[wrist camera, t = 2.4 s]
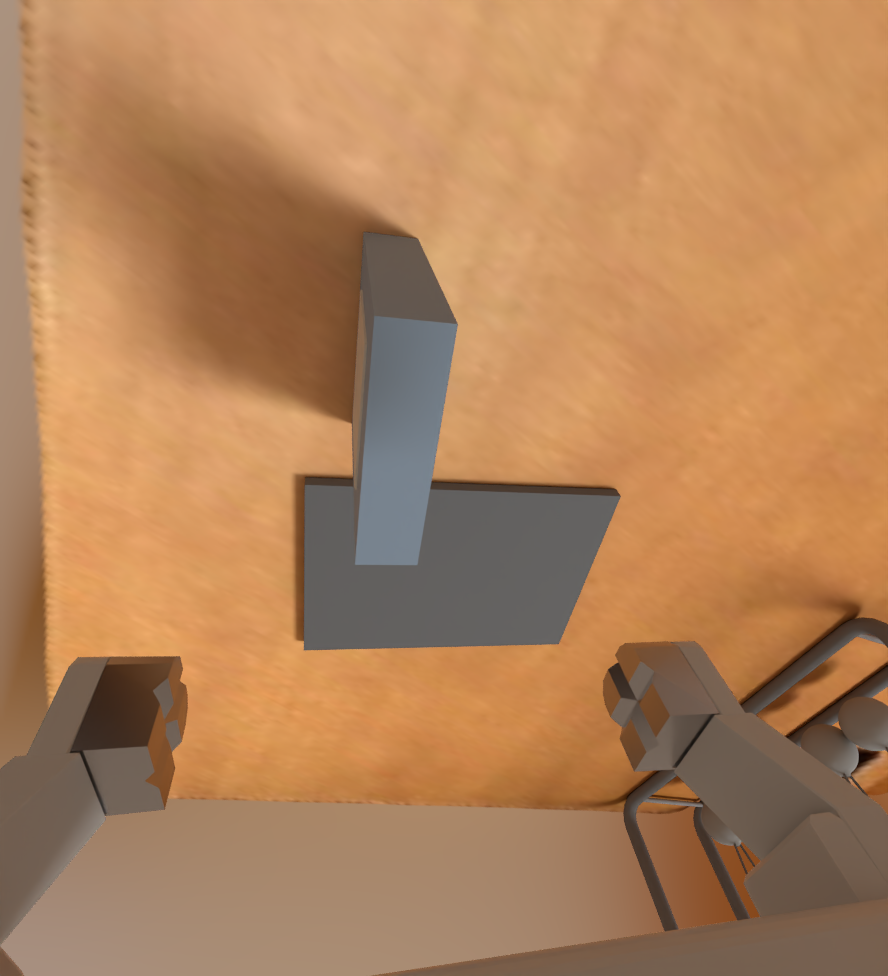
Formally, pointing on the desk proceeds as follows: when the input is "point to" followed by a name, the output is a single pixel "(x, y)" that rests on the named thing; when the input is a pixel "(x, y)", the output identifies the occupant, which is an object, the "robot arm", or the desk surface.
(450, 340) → the tile
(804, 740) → the newton's cradle
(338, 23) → the desk surface
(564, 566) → the mat
